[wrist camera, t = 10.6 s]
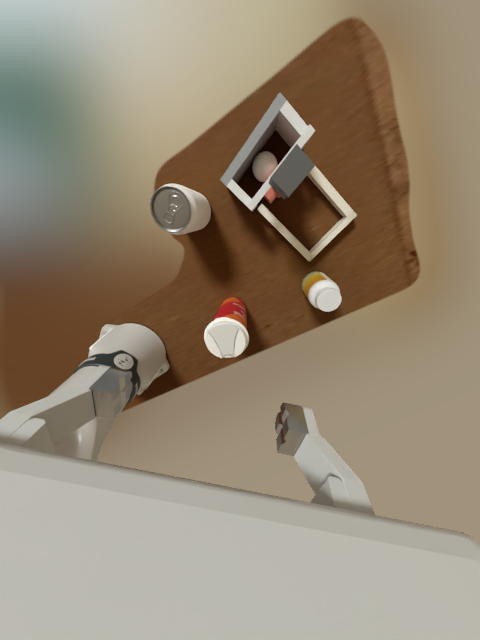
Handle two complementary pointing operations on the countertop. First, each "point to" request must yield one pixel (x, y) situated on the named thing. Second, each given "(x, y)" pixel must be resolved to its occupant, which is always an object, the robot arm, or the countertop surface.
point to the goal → (274, 119)
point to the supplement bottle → (321, 291)
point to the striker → (289, 174)
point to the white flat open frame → (334, 200)
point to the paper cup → (228, 329)
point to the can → (179, 209)
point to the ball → (264, 165)
